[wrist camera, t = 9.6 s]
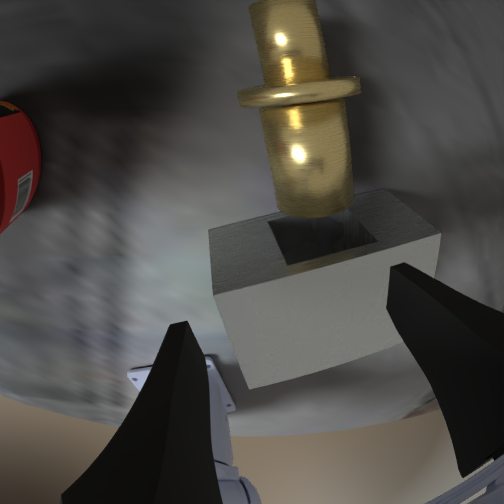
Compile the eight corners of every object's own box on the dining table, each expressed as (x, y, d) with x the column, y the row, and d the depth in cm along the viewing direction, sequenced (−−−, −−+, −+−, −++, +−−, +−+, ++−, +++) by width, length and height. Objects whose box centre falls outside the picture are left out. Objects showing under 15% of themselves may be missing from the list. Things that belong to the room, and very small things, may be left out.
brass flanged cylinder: (343, 173, 18) (389, 210, 13) (253, 192, 18) (274, 238, 13) (318, 11, 13) (366, -12, 8) (216, 23, 13) (223, -5, 8)
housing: (381, 280, 24) (421, 334, 18) (236, 320, 24) (249, 389, 18) (384, 188, 20) (441, 232, 14) (208, 230, 19) (213, 295, 14)
